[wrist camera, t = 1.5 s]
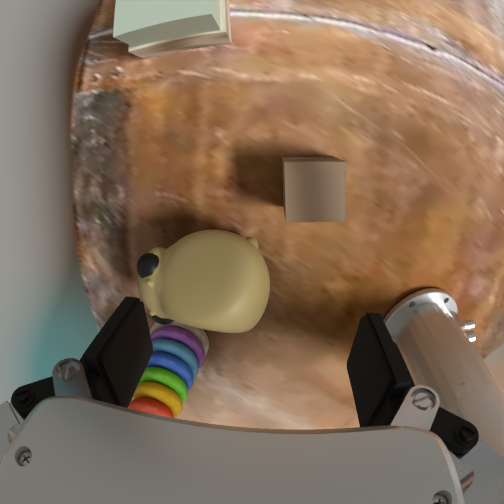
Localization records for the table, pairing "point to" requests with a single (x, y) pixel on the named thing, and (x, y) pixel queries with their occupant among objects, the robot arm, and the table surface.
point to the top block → (163, 19)
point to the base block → (189, 39)
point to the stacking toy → (170, 368)
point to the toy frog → (206, 282)
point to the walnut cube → (314, 188)
